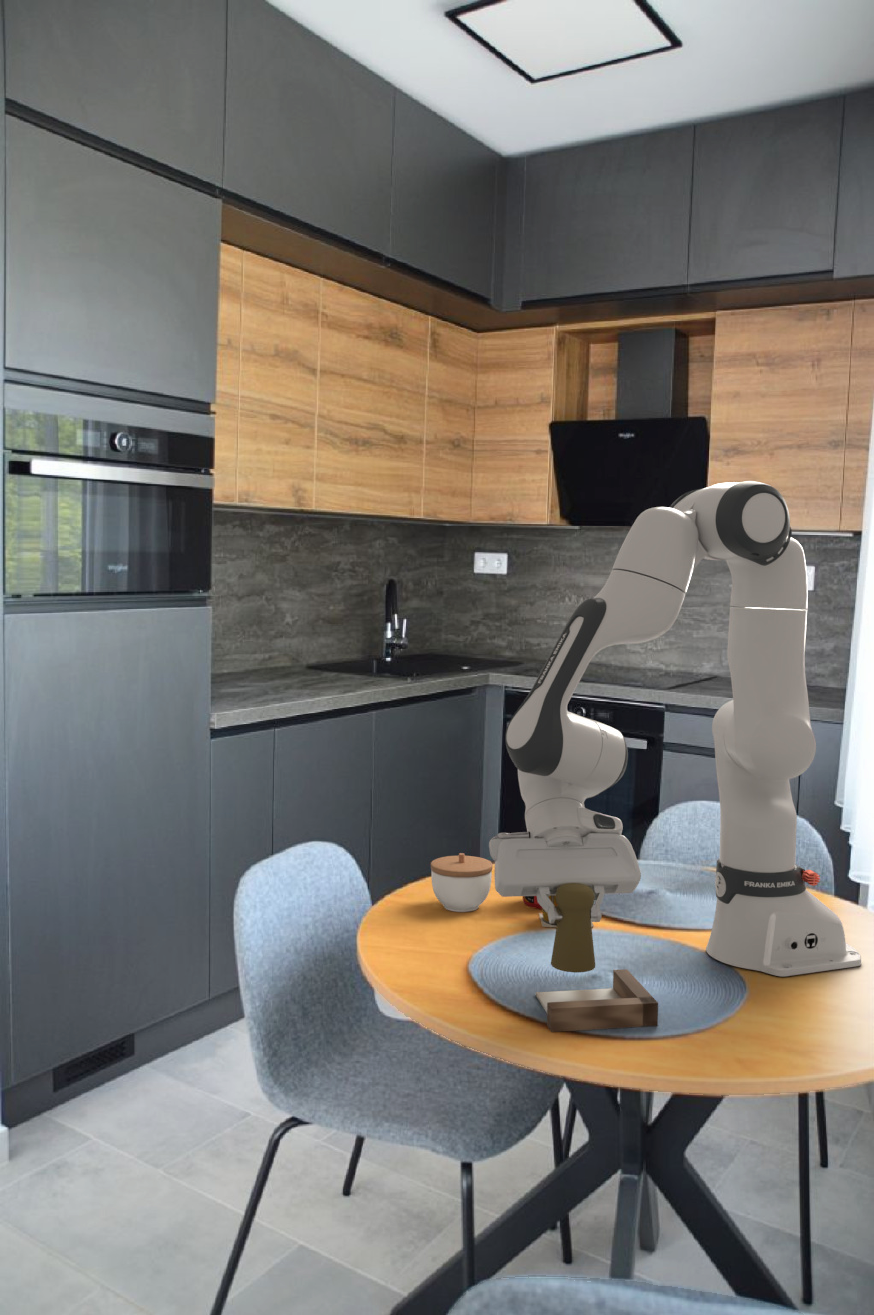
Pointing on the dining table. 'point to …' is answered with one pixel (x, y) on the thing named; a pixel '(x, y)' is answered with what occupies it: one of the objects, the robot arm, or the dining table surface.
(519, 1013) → the dining table surface
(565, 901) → the olive game pawn
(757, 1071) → the dining table surface
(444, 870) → the lidded jar
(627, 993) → the corner lip
